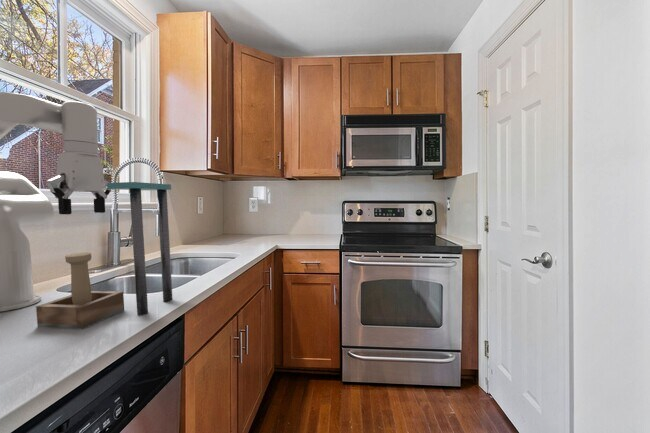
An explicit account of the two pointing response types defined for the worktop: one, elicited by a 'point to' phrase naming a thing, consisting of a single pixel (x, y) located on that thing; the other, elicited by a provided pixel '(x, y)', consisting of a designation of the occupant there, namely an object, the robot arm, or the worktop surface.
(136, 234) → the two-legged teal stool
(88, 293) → the handle
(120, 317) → the worktop surface
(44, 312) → the socket
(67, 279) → the worktop surface
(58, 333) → the worktop surface
